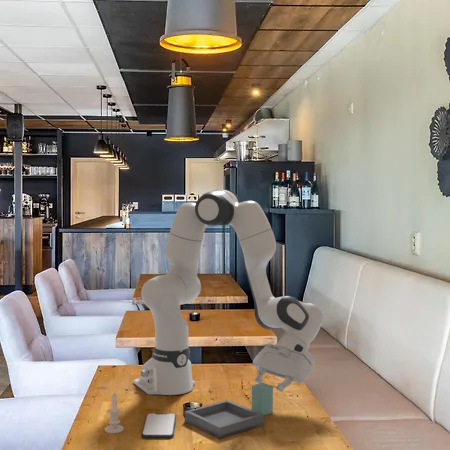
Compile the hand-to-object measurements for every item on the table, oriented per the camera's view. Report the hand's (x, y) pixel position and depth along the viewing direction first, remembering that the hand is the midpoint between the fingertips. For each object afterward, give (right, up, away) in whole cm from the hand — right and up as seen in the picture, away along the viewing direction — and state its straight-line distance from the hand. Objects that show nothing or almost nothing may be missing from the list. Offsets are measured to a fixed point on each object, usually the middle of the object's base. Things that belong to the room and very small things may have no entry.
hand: (267, 386), depth 183 cm
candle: (-44, -8, -16) cm, 47 cm away
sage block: (-2, -7, -1) cm, 8 cm away
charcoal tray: (-13, -8, -11) cm, 19 cm away
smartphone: (-31, -8, -14) cm, 35 cm away
